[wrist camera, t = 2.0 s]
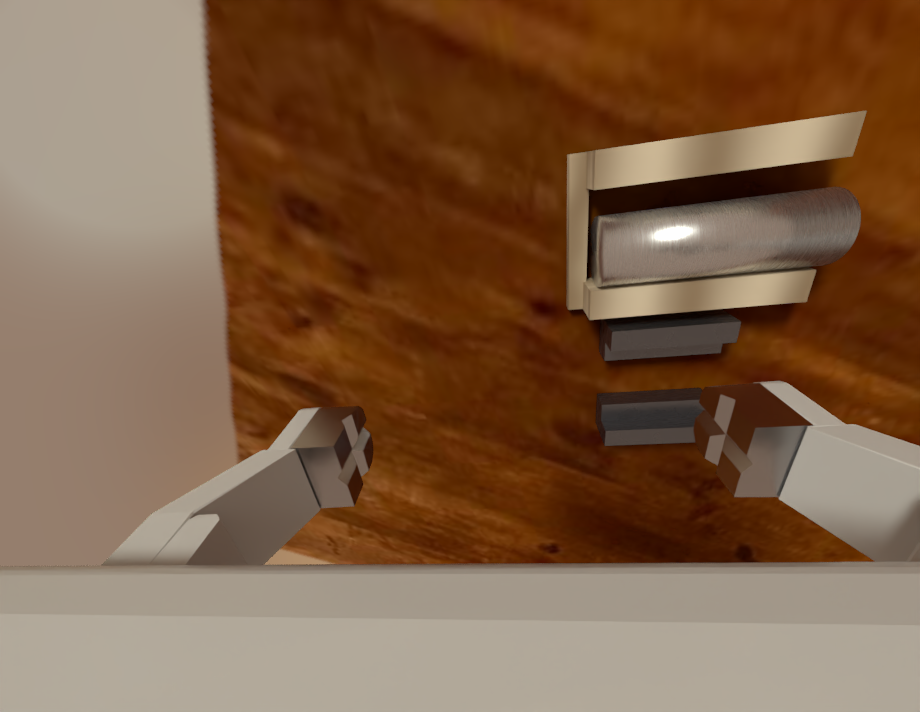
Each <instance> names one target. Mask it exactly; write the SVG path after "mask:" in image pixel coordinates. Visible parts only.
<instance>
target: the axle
mask: <svg viewBox="0 0 920 712" xmlns="http://www.w3.org/2000/svg"><path fill="white" fill-rule="evenodd" d="M860 222H861V212H860V207H859V203H858V201H857V199H856V197H855V196H854V195H853V194H852V193H851V192H850V191H849V190H847V189H845V188H842V187H829V188H821V189H813V190H805V191H796V192H788V193H780V194H772V195H764V196H756V197H748V198H740V199H731V200H723V201H715V202H707V203H699V204H691V205H683V206H675V207H666V208H658V209H650V210H642V211H634V212H626V213H618V214H610V215H601V216H596V217H595V218H594V220H593V222H592V225H591V230H590V249H589V263H590V271H591V276H592V280H593V282H594V284H595V286H596V287H605V286H616V285H626V284H636V283H647V282H657V281H667V280H678V279H688V278H698V277H709V276H719V275H729V274H739V273H750V272H760V271H770V270H781V269H791V268H801V267H812V266H822V265H828V264H831V263H833V262H835V261H837V260H838V259H840V258H841V257H842V256H843V255H844V254H846V253H847V251H848V250H849V249H850V248H851V246H852V245H853V243H854V241H855V239H856V237H857V234H858V231H859V228H860Z"/></svg>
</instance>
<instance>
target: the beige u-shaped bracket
mask: <svg viewBox="0 0 920 712" xmlns="http://www.w3.org/2000/svg"><path fill="white" fill-rule="evenodd" d="M866 112H867V111H860V112H854V113H847V114H840V115H833V116H826V117H820V118H813V119H806V120H799V121H792V122H786V123H779V124H772V125H765V126H758V127H752V128H745V129H738V130H731V131H724V132H717V133H711V134H704V135H697V136H690V137H683V138H677V139H670V140H663V141H656V142H649V143H643V144H636V145H629V146H622V147H615V148H609V149H602V150H595V151H589V152H582V153H576V154H569V155H567V308H568V310H575V309H583V310H584V312H585V313H586V315H587V317H588V318H589V320H597V319H609V318H621V317H633V316H644V315H656V314H668V313H680V312H692V311H703V310H715V309H727V308H739V307H751V306H762V305H774V304H786V303H798V302H807V299H808V296H809V292H810V289H811V286H812V283H813V280H814V277H815V273H816V270H815V269H812V268H809V267H801V268H791V269H781V270H770V271H760V272H750V273H739V274H729V275H719V276H709V277H698V278H688V279H678V280H667V281H657V282H647V283H636V284H626V285H616V286H605V287H596V286H595V284H594V282H593V280H592V278H586V277H587V242H588V206H589V189H591V190H600V189H607V188H615V187H623V186H630V185H638V184H645V183H653V182H660V181H668V180H675V179H683V178H691V177H698V176H706V175H713V174H721V173H728V172H736V171H743V170H751V169H759V168H766V167H774V166H781V165H789V164H796V163H804V162H811V161H819V160H827V159H834V158H842V157H849V156H853V153H854V150H855V147H856V144H857V141H858V138H859V134H860V131H861V128H862V125H863V122H864V119H865V115H866Z"/></svg>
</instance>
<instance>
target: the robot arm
mask: <svg viewBox="0 0 920 712" xmlns="http://www.w3.org/2000/svg"><path fill="white" fill-rule="evenodd" d="M699 403H700V405H701V406H702V407H703V409H704V411H702V412H701V413H700V414H699V415H698V416H697V417H696V418H695V423H694V429H693V431H694V437H695V442H696V445H697V447H698V449H699V451H700V452H701V454H702V455H703V457H704V458H705V459H707V460H709V461H710V462H712V463H714V464H716V465H718V466H717V470H716V474H717V475H718V477H719V478H720V479H721V481H722V482H723V483H724V485H725V486H726V487H727V489H728V490H729V491H730V493H731V494H732V495H733V497H779V500H781V501H783V502H784V503H786V504H787V505H789V506H790V507H792V508H793V509H795V510H797V511H798V512H800V513H801V514H803V515H804V516H806V517H807V518H809V519H810V520H812V521H814V522H815V523H817V524H818V525H820V526H821V527H823V528H824V529H826V530H827V531H829V532H831V533H832V534H834V535H835V536H837V537H838V538H840V539H841V540H843V541H844V542H846V543H848V544H849V545H851V546H852V547H854V548H855V549H857V550H858V551H860V552H862V553H863V554H865V555H866V556H868V557H869V558H871V559H872V560H874V561H875V562H733V563H522V564H327V565H264V564H265V563H266V562H267V561H268V560H269V559H270V558H271V557H272V556H273V555H274V554H275V553H276V552H277V551H278V550H279V549H280V548H281V547H282V546H283V545H284V544H286V543H287V542H288V541H289V540H290V539H291V538H292V537H293V536H294V535H295V534H296V533H297V532H298V531H299V530H300V529H301V528H302V527H303V526H304V525H305V524H306V523H307V522H308V521H309V520H310V519H311V518H312V517H314V516H315V515H316V514H317V513H318V512H319V511H320V508H330V507H349V506H355V504H356V501H357V499H358V496H359V494H360V491H361V489H362V486H363V481H362V478H361V476H363V475H364V474H365V473H366V472H367V471H369V469H370V466H371V463H372V458H373V441H372V438H371V434H370V433H369V432H368V431H367V430H366V429H364V428H363V426H364V424H365V422H366V417H365V414H364V411H363V409H362V408H361V407H359V406H348V407H323V408H320V407H319V408H305V409H302V410H299V411H298V413H297V414H296V415H295V417H294V418H293V419H292V420H291V422H290V423H289V424H288V425H287V427H286V428H285V429H284V430H283V432H282V433H281V434H280V435H279V437H278V438H277V439H276V440H275V442H274V443H273V444H272V445H271V447H270V448H269V449H268V450H262V451H260V452H258V453H256V454H255V455H253V456H251V457H249V458H248V459H246V460H244V461H242V462H241V463H239V464H237V465H236V466H234V467H232V468H231V469H229V470H227V471H225V472H223V473H222V474H220V475H218V476H216V477H215V478H213V479H211V480H210V481H208V482H206V483H204V484H203V485H201V486H199V487H197V488H196V489H194V490H192V491H190V492H189V493H187V494H185V495H183V496H182V497H180V498H178V499H177V500H175V501H173V502H171V503H170V504H168V505H166V506H165V507H163V508H161V509H159V510H157V511H156V512H154V513H152V514H151V515H150V516H149V517H148V518H147V519H146V520H145V521H144V522H143V523H142V524H141V525H140V526H139V527H138V528H137V529H136V530H135V531H134V532H133V533H132V534H131V535H130V536H129V537H128V538H127V539H126V540H125V541H124V542H123V543H122V544H121V546H120V547H119V548H118V549H117V550H116V551H115V552H114V553H113V554H112V555H111V556H110V557H109V558H108V559H107V560H106V561H105V562H104V563H103V564H102V565H101V566H0V712H920V446H918V445H915V444H912V443H909V442H906V441H903V440H900V439H897V438H894V437H891V436H888V435H885V434H882V433H879V432H876V431H873V430H870V429H867V428H864V427H861V426H858V425H855V424H850V425H846V424H844V423H843V422H841V421H840V420H839V419H837V418H836V417H834V416H833V415H832V414H830V413H829V412H827V411H826V410H825V409H823V408H822V407H820V406H819V405H818V404H816V403H815V402H813V401H812V400H810V399H809V398H808V397H806V396H805V395H803V394H802V393H801V392H799V391H798V390H796V389H795V388H794V387H792V386H791V385H789V384H788V383H785V382H782V381H770V382H759V383H752V384H738V385H725V386H711V387H705V388H704V389H703V391H702V392H701V395H700V400H699Z"/></svg>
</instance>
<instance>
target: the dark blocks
mask: <svg viewBox="0 0 920 712" xmlns="http://www.w3.org/2000/svg"><path fill="white" fill-rule="evenodd" d="M740 325H741V321H740V320H738V319H736V318H735V317H733V316H732V315H730V314H729V313H727V312H725V311H724V310H722V309H715V310H703V311H692V312H680V313H668V314H656V315H644V316H633V317H621V318H609V319H601V323H600V343H599V352H600V354H601V356H602V357H603V359H604V361H611V360H625V359H640V358H654V357H669V356H683V355H698V354H712V353H721V348H722V344H723V343H736V342H737V338H738V334H739V329H740ZM701 392H702V389H701V388H689V389H672V390H655V391H637V392H620V393H602V394H597V405H596V425H597V427H598V430H599V432H600V435H601V438H602V440H603V443H604V445H605V446H613V445H639V444H666V443H692V442H695V437H694V431H693V429H694V423H695V418H696V417H697V416H698V415H699V414H700V413H701V412H702V411H704V409H703V407H702V406H701V405H700V403H699V400H700V395H701Z"/></svg>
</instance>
